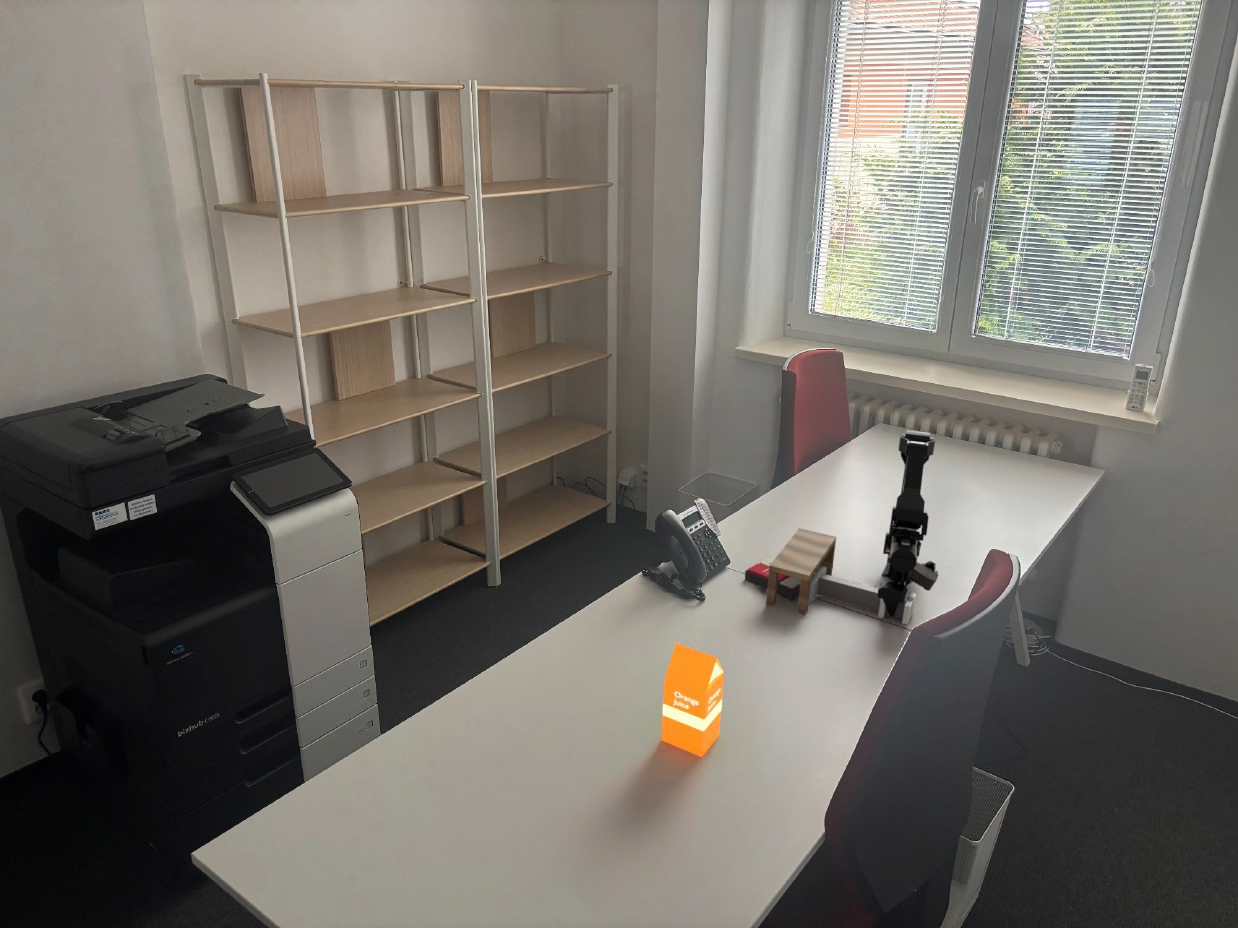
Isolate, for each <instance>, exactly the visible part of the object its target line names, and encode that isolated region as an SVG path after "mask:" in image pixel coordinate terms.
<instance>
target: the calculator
mask: <svg viewBox="0 0 1238 928" xmlns="http://www.w3.org/2000/svg"><path fill="white" fill-rule="evenodd" d="M774 559H775V558H774V557H772V556H771V557H768V558H766V559H764V560H762V561H760V562H758V563H757V564H754V565H752V566H750V567H749V568H748V567H747V569H746V570H745V571H744V581H745V582H748V583H749V584H752V585H754V586H756V587H759V588H761V589H764V590H766V591H767V586H768V575H769V565H770V564H771V563H772V562H773V560H774ZM814 574H815V573H814ZM814 574H813V576H814ZM813 576H812V577H813ZM812 577H811V578H812ZM800 581H801V579H799V578H795V577H791V576H787V575H783V574H779V579H778V589H777V597H780V598H782V599H785V600H786V601H789V602H794V601H796V600H797V599H799V590H800Z"/></svg>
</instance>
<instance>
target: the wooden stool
mask: <svg viewBox="0 0 1238 928" xmlns="http://www.w3.org/2000/svg"><path fill="white" fill-rule="evenodd" d="M836 542H837V536H834V535H830V534H826V533H821V532H817V531H814V530H813V531H812V530H809V529H804V528H800V527H799V528H798V529H797V530H796V532H795V533H794V535H792V537H791V538H790V539H789V540H788V542H787V543H786V544H785V545H784V547H782V549H781V550H780V552H779V553H778V554H777V555H776V556H775V558H774V560H773V562H772V563H771V564H770V565H769V575H768V586H767V590H766V597H765V598H766V599H765V600H766V601H765V606H767V607H768V606H769V607H771V608H773V607H775V606H776V604H777V597H778V595H777V589H778V579H779V574H783V575H787V576H791V577H795V578H799V579H801V581H800V590H799V598H798V601H797V602H798V603H797V608H796V609H797V611H796V614H798V615H802V616H806V615H807V613H808V612H809V611H808V609H809V603H810V601H809V593H810V585H811V577H812V576H813V574H815V573H816V572H817V570H818V569H819V568H820V567H821V566H823V567H827V568H826V575H829V576H832V574H833V567H834V560H835V559H834V558H835V551H836Z"/></svg>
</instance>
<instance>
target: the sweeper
mask: <svg viewBox="0 0 1238 928" xmlns="http://www.w3.org/2000/svg"><path fill="white" fill-rule="evenodd" d="M826 568H827V567H823V566H821V567H820V568H819V569H818V570H817V572H815V573H814V576H813V577H812V578H811V585H810V593H809V602H813V601H814V600H815V598H816V597H817V596H820V597H824V598H827V599H831V600H833V601H834V600H835V601H838V602H842V603H844V604H848V605H852V606H856V607H860V608H862V609H863V608H864V609H867V610H870V611H873V612H878V615H877V617H878V618H881V619H884V617H885V615H888V616H889V614H888V612H887V609H886V606H885V604H884V601H883V599H881V598H879V597H878V589H879V588H878V587H875V586H874V587H873V586H871V585H866V584H864V583H863V584H862V583H859V582H855V581H852V580H848V579H845V578H840V577H836V576H833V575H831V576H829V575H826ZM916 599H917V593H914V592H911V593H910V595H909V596H907V598H906V600H905V602H904V603H899V604H898V607H897V610H896V612H895V615H894V618H895V617H896V618H900V619H901V620H902V621H901V624H902V625H908V623H909V622H910V619H912V616H913V614H914V611H915V604H916Z"/></svg>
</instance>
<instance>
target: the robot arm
mask: <svg viewBox="0 0 1238 928" xmlns="http://www.w3.org/2000/svg"><path fill="white" fill-rule="evenodd" d="M898 441H899V443H898V449H897V450H898V451H899V452H900V457H901V459H902V462H903V463H904V471H903V477H902V481H901V482H902V484H901V491H900V494H899V495H898V496H897V497H896V498H897V499H896V503H895V504H896V505H894V506H892V508H891V509H892V511H891V517H890V524H889V530H888V532H887V531H886V533H885V537H884V542H883V543H884V544H883V550H882V551H883V552H882V554H883V555H887V558H886V565H885V567H884V569H883V570H882V572H881V576H884V577H885V578H887V579H889V581H887V580H885V581H883V582H882V583H880V585H879V588H878V597H879V598H881V599H883V601H884V604H885V606H886V609H887V612H888V614H889V615H888V614H887V615H888V616H889V617H892V618H895V616H894V615H895V612H896V610H897V607H898V604H899V603H904V602H905V600H906V598H907V596H908V594H909V593H908V592H909V589H908V587H907V586H909V585H910V584H912V583H915V584H916V585H918V586H920V588H921V587H922V588H923V589H924V590H925V591H928V592H929V591H931V589H933V586H934V585H935V584H936V582H937V579H938V577H939V573H938V572H939V571H938V570H936V563H935V562H933V561H932V560H930V561H927V562H925V563H924V562H921V563H920V562H918V557H919V556H920V551H921V548H922V542H921V541H924V536H927V533H928V526H929V515H928V511H927V510H925V499H924V498H923V496H922V494H921V491H922V485H923V484H922V483H923V475H924V468H925V467H924V465H925V464H926V463H927V462H928V461H929V459H930V456H933V455H934V451H935V445H936V438H935V437H932V436H931V432H926V431H925V432H924V431H917V430H908V429H906V430H905V432H904V433H900V435H899V440H898ZM920 529H921V533H920V531H918V530H920ZM908 597H909V596H908Z"/></svg>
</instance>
